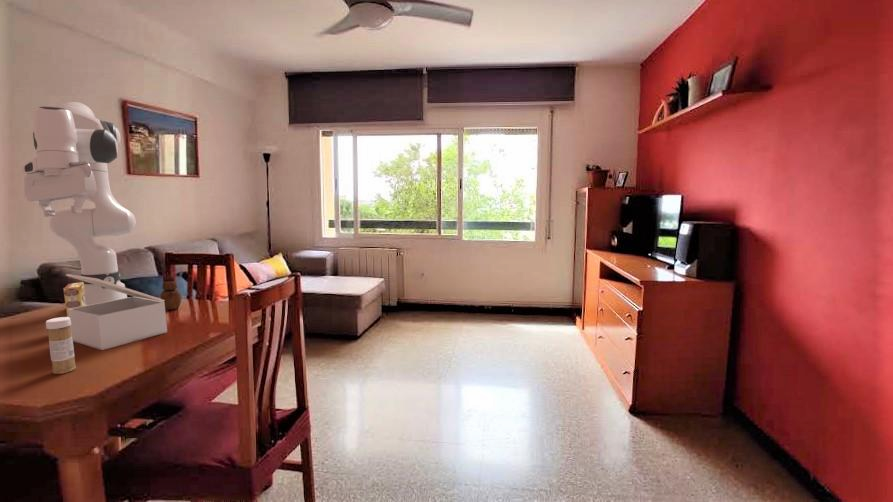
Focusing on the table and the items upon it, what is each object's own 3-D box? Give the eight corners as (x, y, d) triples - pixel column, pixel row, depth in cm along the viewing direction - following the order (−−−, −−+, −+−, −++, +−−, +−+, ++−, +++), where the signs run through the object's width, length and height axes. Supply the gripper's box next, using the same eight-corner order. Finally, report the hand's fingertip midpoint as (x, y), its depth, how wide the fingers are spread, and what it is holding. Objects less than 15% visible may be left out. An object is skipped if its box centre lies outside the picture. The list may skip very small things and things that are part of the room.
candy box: (86, 333, 140) (80, 286, 138) (68, 335, 137) (62, 288, 135) (89, 326, 147) (84, 281, 145) (73, 328, 145) (67, 283, 143)
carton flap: (65, 275, 130) (66, 273, 130) (133, 296, 146) (133, 294, 147) (96, 280, 122) (97, 278, 122) (163, 301, 138) (164, 300, 138)
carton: (71, 340, 132) (67, 309, 131) (136, 325, 148) (133, 296, 147) (101, 350, 124) (98, 316, 122) (167, 332, 139) (164, 302, 138)
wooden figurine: (158, 310, 166) (154, 272, 165) (169, 306, 172) (166, 269, 170) (173, 311, 165) (170, 272, 163) (185, 307, 171) (181, 269, 169)
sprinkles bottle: (63, 367, 111) (57, 316, 110) (81, 367, 111) (75, 316, 109) (47, 374, 107) (40, 321, 105) (65, 374, 107) (58, 321, 105)
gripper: (100, 162, 121) (105, 211, 121) (42, 171, 125) (46, 219, 125) (77, 157, 115) (82, 209, 115) (17, 167, 119) (21, 218, 119)
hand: (63, 214), depth 120 cm, fingers open, 8 cm apart
